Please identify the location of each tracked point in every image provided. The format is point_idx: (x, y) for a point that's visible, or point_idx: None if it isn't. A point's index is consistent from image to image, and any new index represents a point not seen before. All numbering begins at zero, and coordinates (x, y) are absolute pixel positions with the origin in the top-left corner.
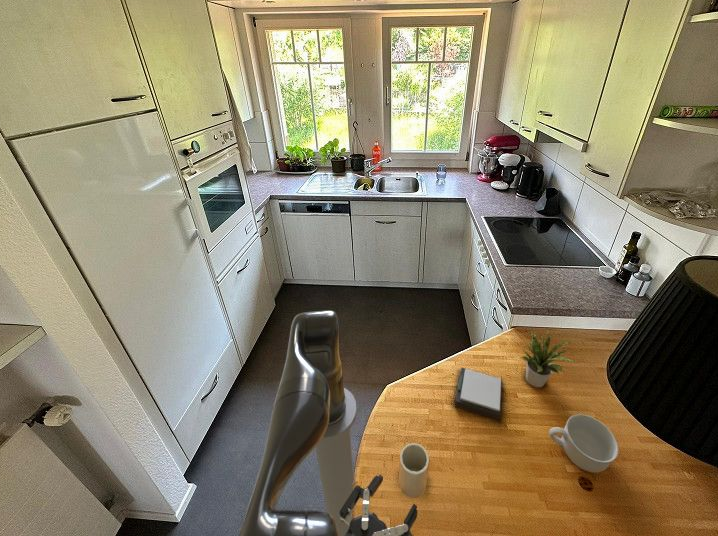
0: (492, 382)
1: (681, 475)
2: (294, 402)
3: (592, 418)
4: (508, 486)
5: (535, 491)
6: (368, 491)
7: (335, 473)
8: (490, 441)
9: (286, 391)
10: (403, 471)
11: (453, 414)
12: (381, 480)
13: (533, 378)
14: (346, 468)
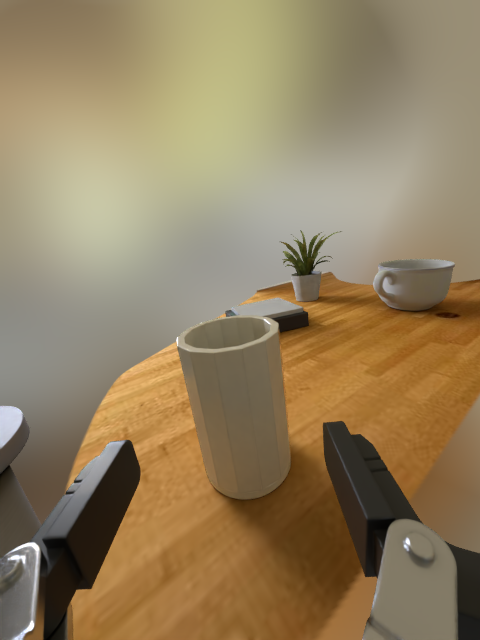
0: (272, 301)
1: (477, 284)
2: None
3: (394, 261)
4: (398, 356)
5: (428, 342)
6: (31, 553)
7: None
8: (321, 340)
9: None
10: (212, 375)
11: None
12: (131, 467)
13: (308, 287)
14: None
